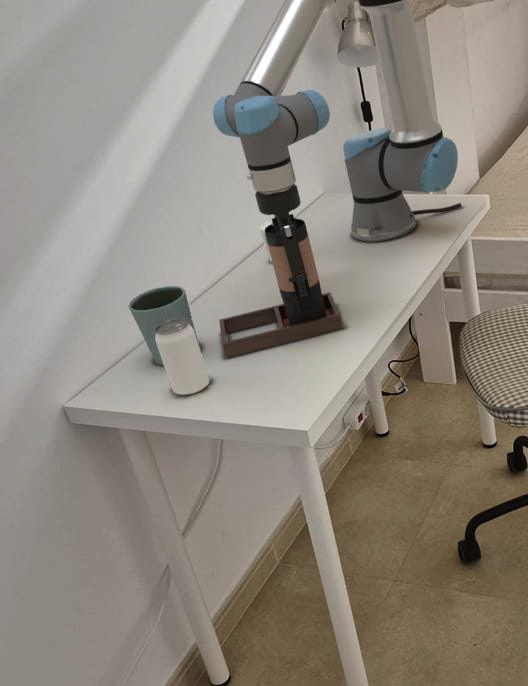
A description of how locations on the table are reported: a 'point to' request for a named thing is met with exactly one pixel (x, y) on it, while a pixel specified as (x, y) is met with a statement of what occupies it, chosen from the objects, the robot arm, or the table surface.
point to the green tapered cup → (159, 313)
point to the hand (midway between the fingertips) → (303, 298)
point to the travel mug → (284, 273)
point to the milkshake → (262, 231)
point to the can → (181, 356)
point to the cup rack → (276, 335)
